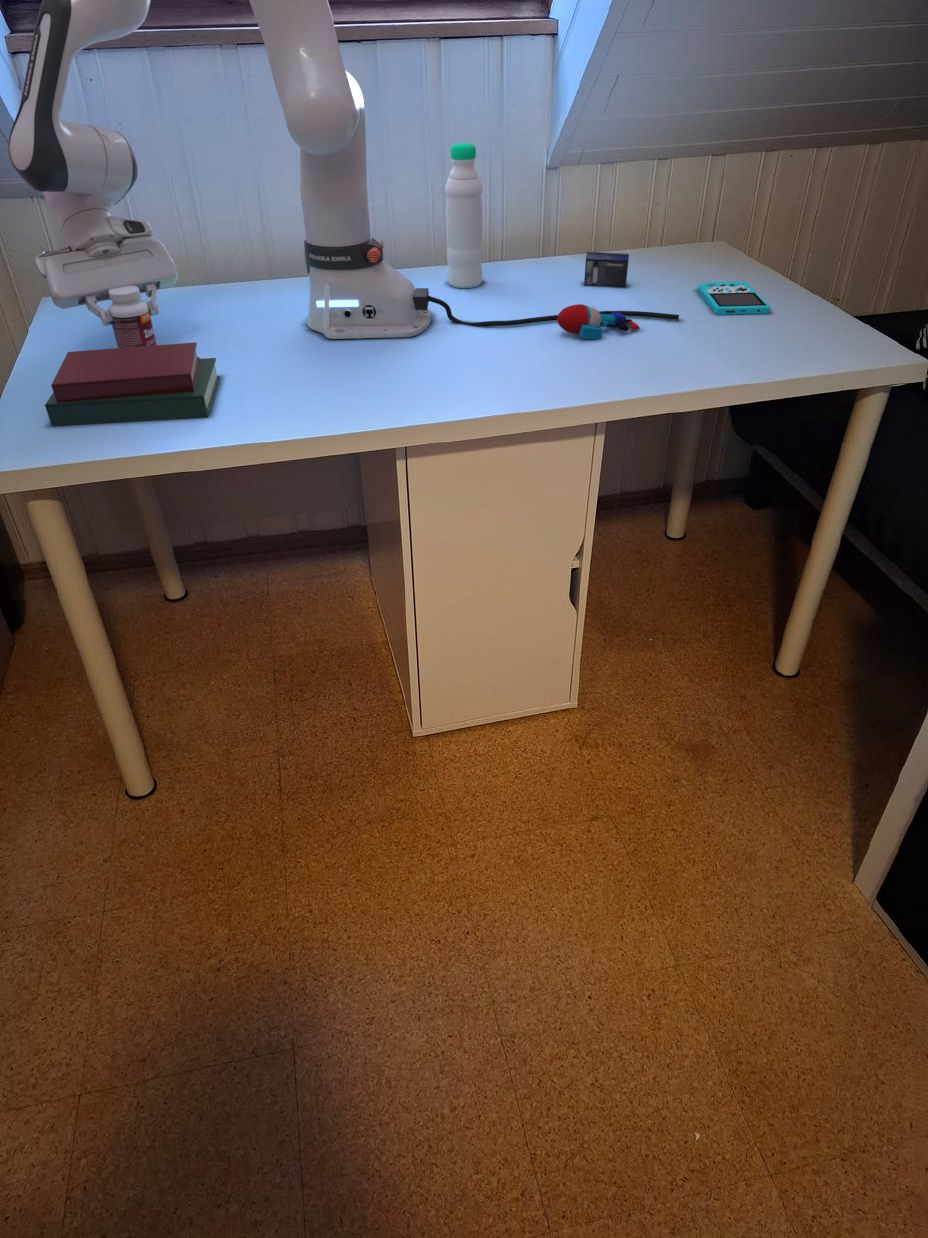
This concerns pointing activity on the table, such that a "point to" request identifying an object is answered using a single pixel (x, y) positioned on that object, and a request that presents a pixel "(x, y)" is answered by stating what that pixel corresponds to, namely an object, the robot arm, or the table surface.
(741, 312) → the handheld game console
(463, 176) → the water bottle
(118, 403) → the lower book
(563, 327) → the toy figure
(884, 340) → the table surface
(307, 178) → the robot arm
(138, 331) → the pill bottle
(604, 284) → the mini dv tape
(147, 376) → the upper book
